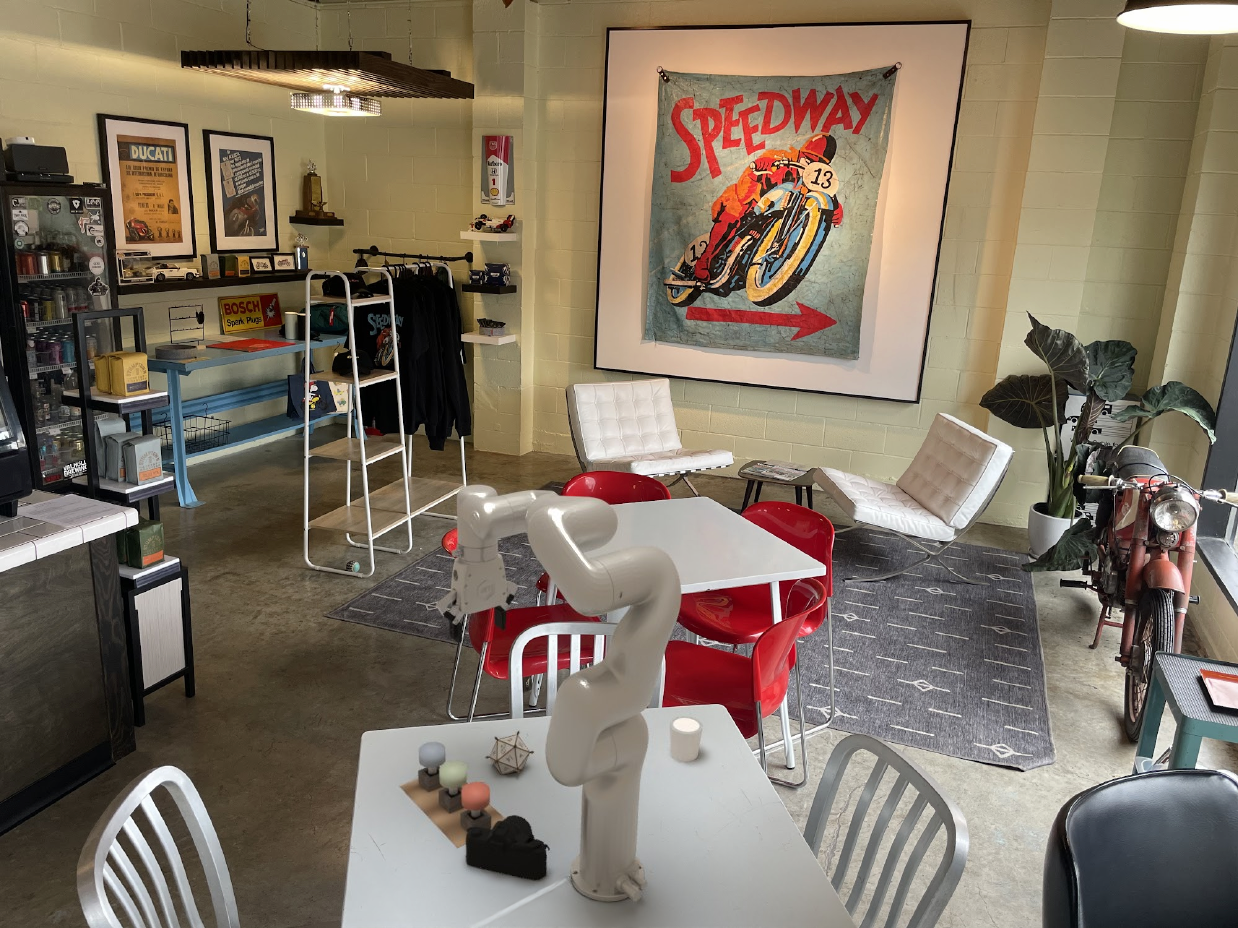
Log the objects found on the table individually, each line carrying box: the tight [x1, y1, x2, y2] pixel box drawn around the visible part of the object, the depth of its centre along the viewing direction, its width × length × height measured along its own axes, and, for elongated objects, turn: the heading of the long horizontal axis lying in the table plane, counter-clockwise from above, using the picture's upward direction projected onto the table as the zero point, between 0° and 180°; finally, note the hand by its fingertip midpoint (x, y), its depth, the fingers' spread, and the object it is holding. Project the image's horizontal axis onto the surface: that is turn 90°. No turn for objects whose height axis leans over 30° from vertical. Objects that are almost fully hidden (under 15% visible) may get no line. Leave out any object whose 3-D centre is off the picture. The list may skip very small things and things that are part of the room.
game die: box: [484, 730, 535, 775], centre depth 185 cm, size 9×8×10 cm
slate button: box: [418, 741, 447, 774], centre depth 178 cm, size 5×5×5 cm
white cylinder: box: [669, 715, 704, 763], centre depth 194 cm, size 7×7×7 cm
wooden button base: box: [399, 765, 506, 849], centre depth 174 cm, size 22×11×4 cm, turn 39°
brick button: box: [462, 781, 491, 817], centre depth 167 cm, size 5×5×5 cm
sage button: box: [439, 760, 468, 795], centre depth 172 cm, size 5×5×5 cm
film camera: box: [465, 814, 551, 882], centre depth 160 cm, size 15×10×9 cm, turn 74°
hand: (478, 633), depth 180 cm, fingers open, 9 cm apart
